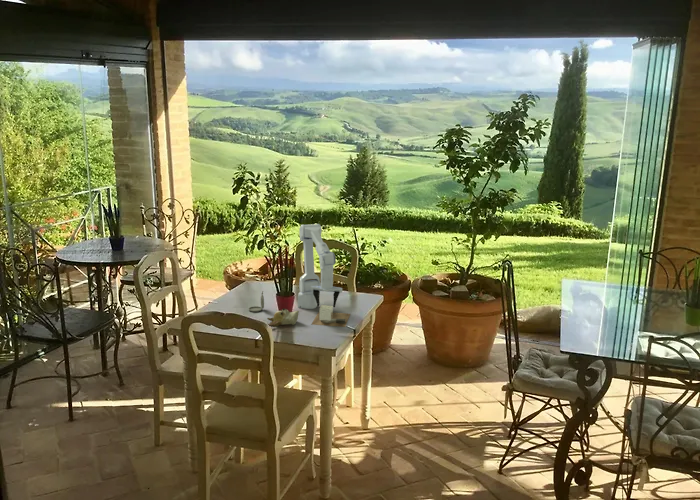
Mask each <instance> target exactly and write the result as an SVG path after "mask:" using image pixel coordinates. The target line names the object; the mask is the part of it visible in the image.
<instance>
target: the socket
mask: <svg viewBox="0 0 700 500" xmlns="http://www.w3.org/2000/svg"><path fill="white" fill-rule="evenodd" d="M319 311H320V315H319V320H328V321H331V319H332V317H333V313H334V307H333V305H326V304H325V305H324V304H321V305H320V307H319Z"/></svg>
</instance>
